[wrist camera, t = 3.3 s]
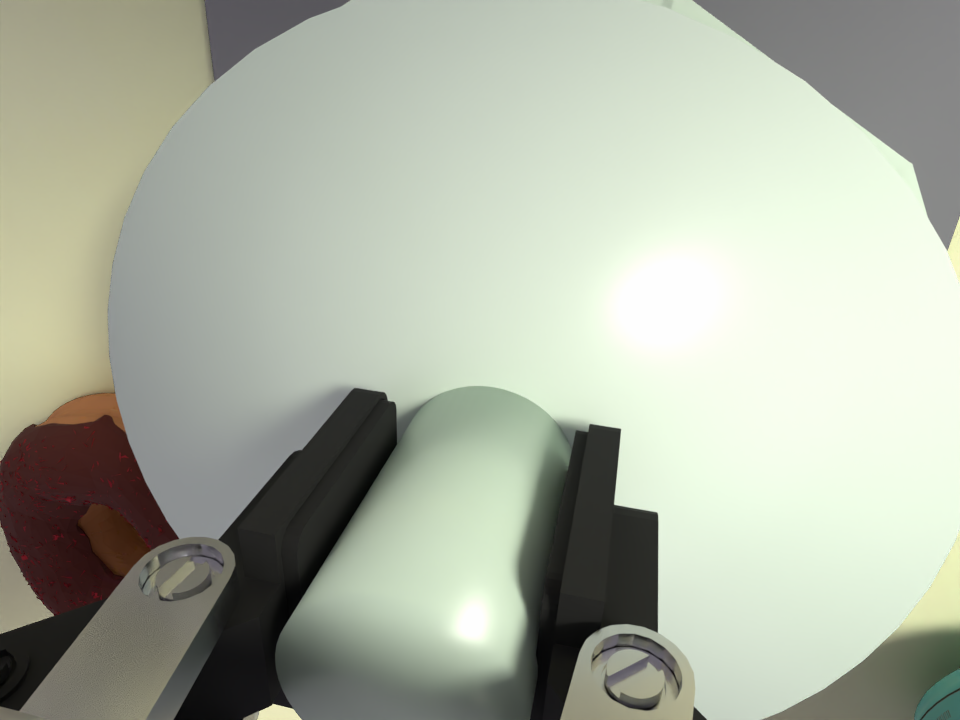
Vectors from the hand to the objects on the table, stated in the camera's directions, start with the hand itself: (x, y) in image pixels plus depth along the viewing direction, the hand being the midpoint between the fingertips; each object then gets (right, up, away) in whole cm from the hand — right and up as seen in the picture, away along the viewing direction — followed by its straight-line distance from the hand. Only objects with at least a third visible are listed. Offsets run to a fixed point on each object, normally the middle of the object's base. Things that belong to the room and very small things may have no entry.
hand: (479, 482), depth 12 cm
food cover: (+2, +3, +6) cm, 7 cm away
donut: (-11, -3, +13) cm, 18 cm away
